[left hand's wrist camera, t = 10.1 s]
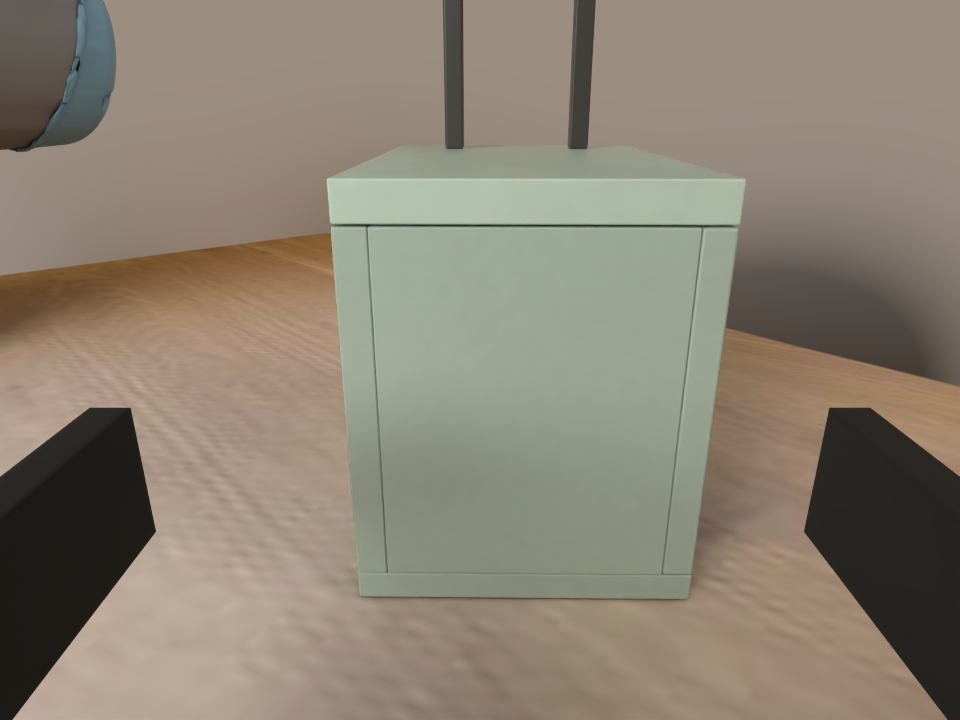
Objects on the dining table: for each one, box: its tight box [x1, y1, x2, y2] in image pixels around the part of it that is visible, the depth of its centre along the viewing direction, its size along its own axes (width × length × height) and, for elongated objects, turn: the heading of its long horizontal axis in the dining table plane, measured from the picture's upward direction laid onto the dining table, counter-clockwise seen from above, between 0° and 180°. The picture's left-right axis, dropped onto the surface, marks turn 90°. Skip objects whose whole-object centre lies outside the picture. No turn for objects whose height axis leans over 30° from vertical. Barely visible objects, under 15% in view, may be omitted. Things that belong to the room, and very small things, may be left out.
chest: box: [331, 224, 739, 599], centre depth 24 cm, size 13×10×11 cm
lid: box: [327, 0, 746, 225], centre depth 20 cm, size 14×10×9 cm
